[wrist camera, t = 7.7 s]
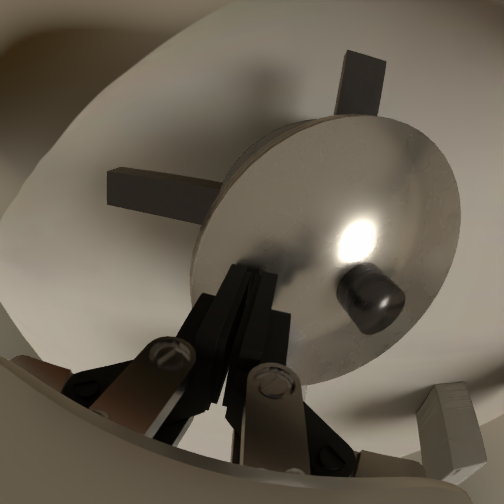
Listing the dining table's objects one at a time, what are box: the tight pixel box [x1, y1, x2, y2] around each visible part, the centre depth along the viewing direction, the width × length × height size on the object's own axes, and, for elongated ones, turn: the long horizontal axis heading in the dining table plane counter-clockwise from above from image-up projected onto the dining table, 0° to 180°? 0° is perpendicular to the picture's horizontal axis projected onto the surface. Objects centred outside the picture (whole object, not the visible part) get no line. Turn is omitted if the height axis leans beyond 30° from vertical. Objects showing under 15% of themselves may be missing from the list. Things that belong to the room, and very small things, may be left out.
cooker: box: [107, 50, 386, 225], centre depth 21 cm, size 23×24×9 cm
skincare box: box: [416, 382, 488, 486], centre depth 25 cm, size 8×7×16 cm
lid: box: [190, 114, 461, 386], centre depth 12 cm, size 15×15×3 cm
